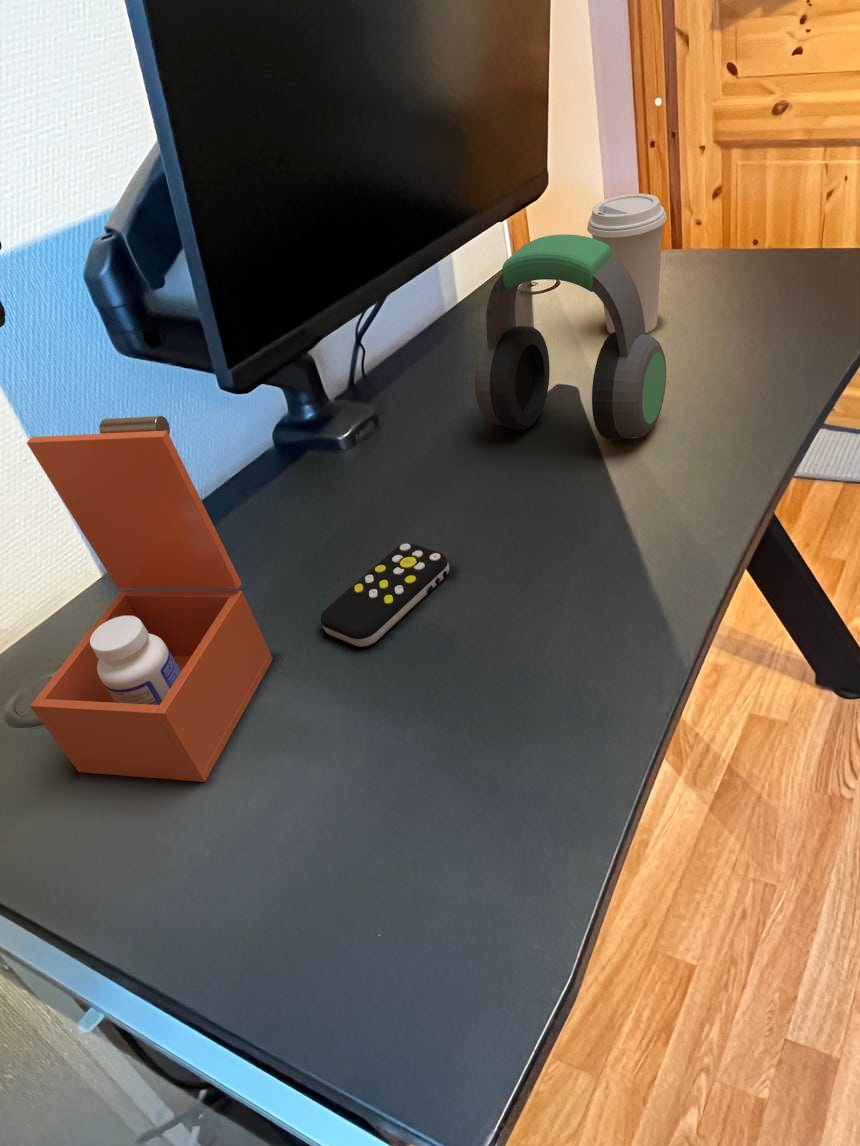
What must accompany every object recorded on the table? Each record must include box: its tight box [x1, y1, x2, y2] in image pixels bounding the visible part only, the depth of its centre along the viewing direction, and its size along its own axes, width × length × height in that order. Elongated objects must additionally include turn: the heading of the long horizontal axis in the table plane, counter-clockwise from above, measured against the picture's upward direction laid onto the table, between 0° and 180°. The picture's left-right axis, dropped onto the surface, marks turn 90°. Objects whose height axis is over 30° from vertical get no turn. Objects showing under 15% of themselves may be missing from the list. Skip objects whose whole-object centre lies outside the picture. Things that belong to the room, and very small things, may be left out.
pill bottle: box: [90, 616, 181, 705], centre depth 68 cm, size 5×5×10 cm
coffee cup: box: [586, 193, 668, 334], centre depth 109 cm, size 10×10×15 cm
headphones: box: [474, 234, 667, 441], centre depth 91 cm, size 19×11×20 cm, turn 63°
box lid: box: [26, 415, 242, 590], centre depth 69 cm, size 14×12×5 cm
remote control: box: [320, 543, 450, 648], centre depth 79 cm, size 6×13×2 cm, turn 143°
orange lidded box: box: [29, 589, 274, 783], centre depth 71 cm, size 14×12×8 cm
